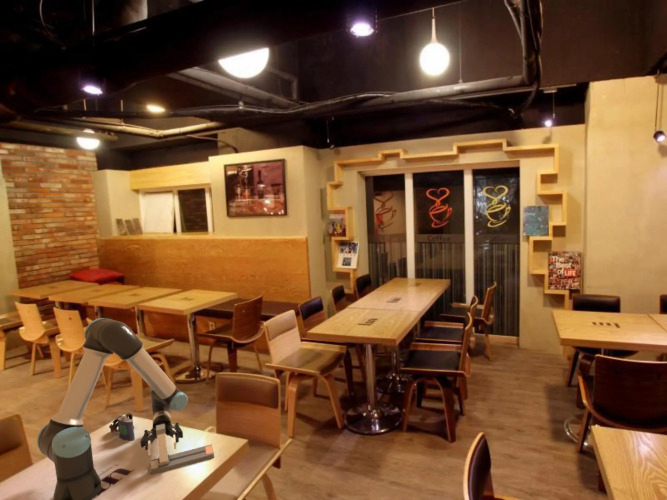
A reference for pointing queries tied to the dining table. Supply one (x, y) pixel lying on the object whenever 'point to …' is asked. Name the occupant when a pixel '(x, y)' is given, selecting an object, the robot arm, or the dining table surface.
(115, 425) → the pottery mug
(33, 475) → the dining table surface
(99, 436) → the dining table surface
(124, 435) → the flask
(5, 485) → the dining table surface
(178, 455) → the switch board
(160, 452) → the lever
